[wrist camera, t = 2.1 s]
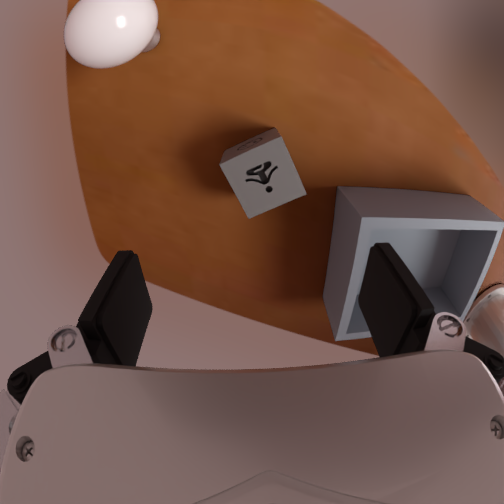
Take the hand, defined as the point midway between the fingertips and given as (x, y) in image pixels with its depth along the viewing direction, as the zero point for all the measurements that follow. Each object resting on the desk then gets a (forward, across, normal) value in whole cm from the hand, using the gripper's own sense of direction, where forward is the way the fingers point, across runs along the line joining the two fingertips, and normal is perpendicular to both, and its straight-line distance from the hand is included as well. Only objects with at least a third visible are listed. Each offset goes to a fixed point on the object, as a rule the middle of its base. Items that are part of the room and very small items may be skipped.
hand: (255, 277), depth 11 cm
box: (+17, -17, +9) cm, 26 cm away
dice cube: (+17, -1, 0) cm, 17 cm away
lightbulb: (+17, +9, -13) cm, 23 cm away
